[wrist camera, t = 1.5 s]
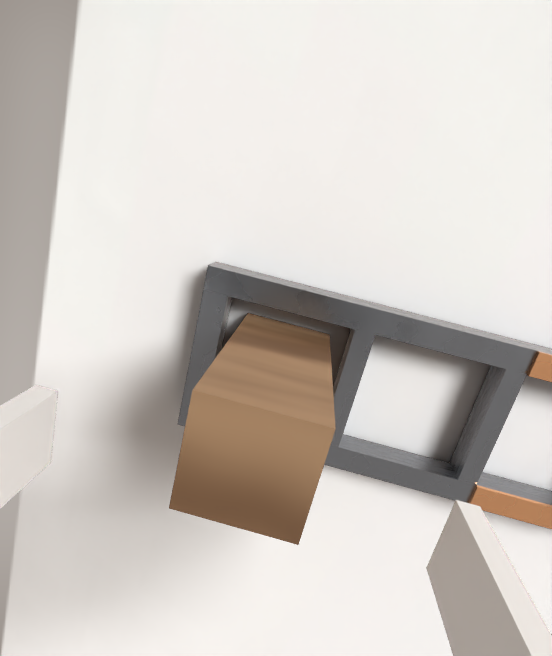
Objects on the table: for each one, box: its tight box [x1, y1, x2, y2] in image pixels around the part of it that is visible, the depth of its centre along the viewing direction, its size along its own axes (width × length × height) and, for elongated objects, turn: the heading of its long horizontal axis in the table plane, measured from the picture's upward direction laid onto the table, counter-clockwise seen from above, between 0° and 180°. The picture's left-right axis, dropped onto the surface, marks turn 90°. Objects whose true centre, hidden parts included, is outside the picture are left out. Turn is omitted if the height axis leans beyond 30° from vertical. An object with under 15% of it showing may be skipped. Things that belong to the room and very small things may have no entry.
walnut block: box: [169, 313, 336, 545], centre depth 18 cm, size 4×4×10 cm
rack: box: [178, 262, 552, 529], centre depth 22 cm, size 9×24×2 cm, turn 76°
